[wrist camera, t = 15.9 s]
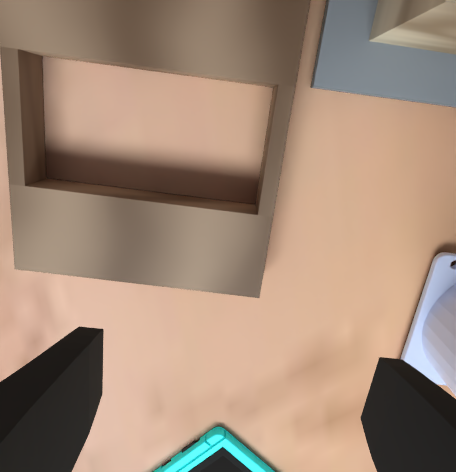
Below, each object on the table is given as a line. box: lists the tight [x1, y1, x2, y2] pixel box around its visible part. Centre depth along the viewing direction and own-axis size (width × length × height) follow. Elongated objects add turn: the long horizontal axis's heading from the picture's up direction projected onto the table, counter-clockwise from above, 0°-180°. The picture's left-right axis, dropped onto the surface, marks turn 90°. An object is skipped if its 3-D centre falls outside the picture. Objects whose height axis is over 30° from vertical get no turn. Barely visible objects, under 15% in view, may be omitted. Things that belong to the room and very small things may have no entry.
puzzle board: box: [0, 0, 310, 298], centre depth 15 cm, size 12×22×2 cm, turn 173°
